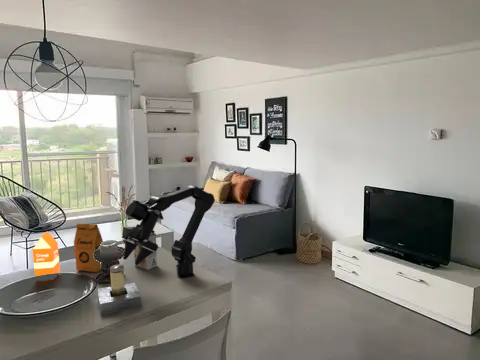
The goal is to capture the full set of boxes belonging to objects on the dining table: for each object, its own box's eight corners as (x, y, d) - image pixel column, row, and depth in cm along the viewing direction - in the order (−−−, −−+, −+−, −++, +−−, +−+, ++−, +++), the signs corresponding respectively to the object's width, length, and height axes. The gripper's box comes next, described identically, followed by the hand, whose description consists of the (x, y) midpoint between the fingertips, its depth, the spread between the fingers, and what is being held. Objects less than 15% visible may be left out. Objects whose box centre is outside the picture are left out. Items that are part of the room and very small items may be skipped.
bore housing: (135, 292, 152) (134, 282, 151) (141, 306, 139) (140, 296, 139) (98, 298, 146) (97, 288, 146) (100, 314, 134) (99, 303, 133)
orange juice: (35, 282, 164) (31, 237, 161) (42, 274, 173) (38, 231, 170) (54, 280, 165) (50, 236, 163) (60, 273, 174) (57, 230, 171)
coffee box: (134, 266, 181) (132, 233, 179) (144, 262, 186) (142, 230, 184) (148, 270, 176) (146, 236, 174) (158, 265, 181) (156, 232, 179)
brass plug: (125, 298, 146) (122, 263, 144) (126, 304, 142) (124, 267, 140) (111, 301, 144) (109, 265, 142) (113, 306, 140) (110, 270, 138)
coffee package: (95, 274, 171) (92, 227, 168) (72, 272, 175) (69, 225, 172) (109, 267, 181) (106, 221, 178) (87, 264, 184) (84, 220, 182)
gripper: (120, 214, 155) (102, 250, 151) (143, 221, 142) (125, 261, 137) (141, 224, 162) (124, 258, 158) (166, 232, 149) (148, 270, 145)
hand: (130, 261), depth 149 cm, fingers open, 9 cm apart
